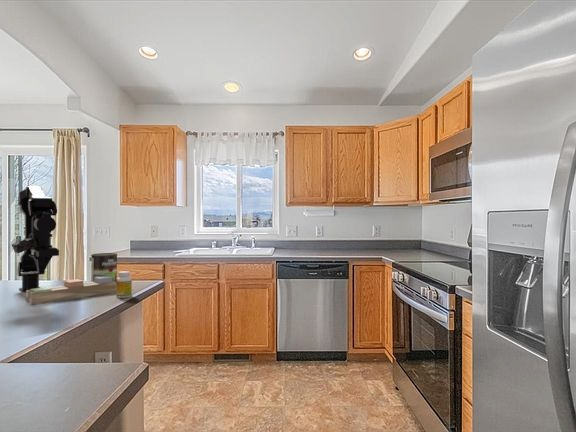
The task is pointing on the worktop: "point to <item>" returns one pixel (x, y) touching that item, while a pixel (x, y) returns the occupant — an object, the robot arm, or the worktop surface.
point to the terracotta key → (73, 283)
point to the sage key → (40, 289)
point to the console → (69, 292)
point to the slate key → (102, 279)
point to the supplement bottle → (124, 285)
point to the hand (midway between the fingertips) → (40, 273)
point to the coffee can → (104, 265)
